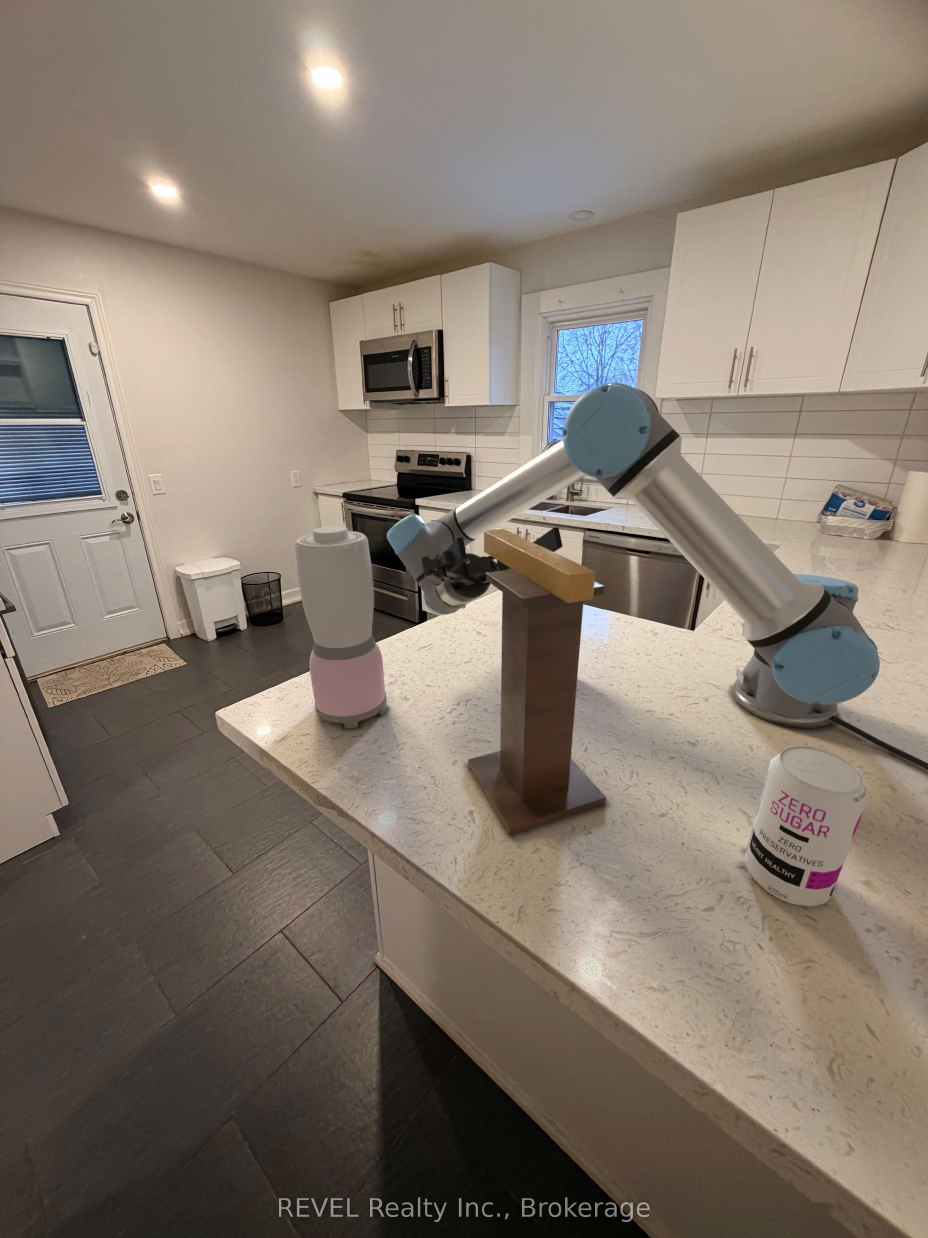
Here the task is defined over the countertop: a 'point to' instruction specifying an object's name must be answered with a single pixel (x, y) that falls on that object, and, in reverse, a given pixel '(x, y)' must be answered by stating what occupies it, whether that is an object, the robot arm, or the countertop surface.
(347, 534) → the blender
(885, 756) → the countertop surface
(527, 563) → the golden brown bar
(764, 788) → the supplement can
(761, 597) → the robot arm
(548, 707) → the brown pedestal stand
